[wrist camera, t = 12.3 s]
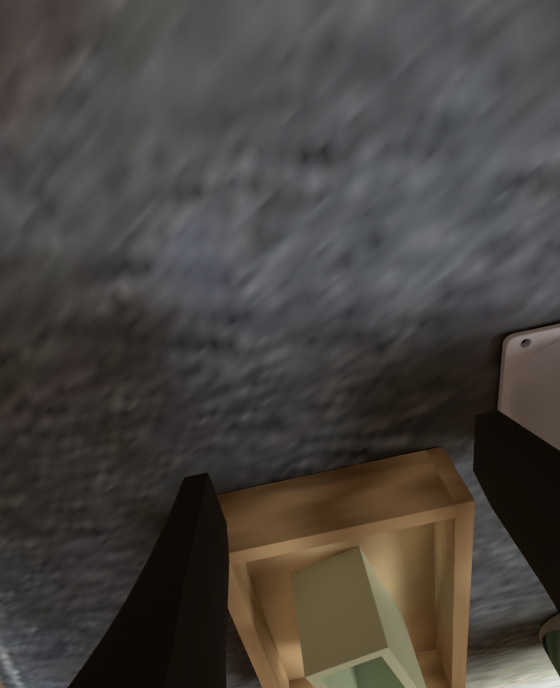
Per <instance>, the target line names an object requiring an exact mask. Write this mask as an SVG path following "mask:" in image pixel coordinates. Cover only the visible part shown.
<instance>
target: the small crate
mask: <svg viewBox="0 0 560 688" xmlns="http://www.w3.org/2000/svg"><path fill="white" fill-rule="evenodd" d="M291 579H292V586H293V593H294V601H295V608H296V615H297V623H298V630H299V638H300V645H301V652H302V660H303V667H304V675H305V678H306V679H307V680H308V681H309V682H310V683H311V684H312V685H313V686H314V687H315V688H426V685H425V682H424V679H423V676H422V673H421V670H420V667H419V664H418V661H417V658H416V655H415V652H414V649H413V646H412V643H411V640H410V637H409V634H408V631H407V628H406V625H405V622H404V619H403V616H402V613H401V611H400V610H399V608H398V607H397V605H396V603H395V602H394V600H393V599H392V597H391V596H390V594H389V592H388V591H387V589H386V588H385V586H384V585H383V583H382V581H381V580H380V578H379V577H378V575H377V573H376V572H375V570H374V569H373V567H372V566H371V564H370V562H369V561H368V559H367V558H366V556H365V555H364V553H363V551H362V550H361V548H360V547H359V546H358V547H356V548H353V549H351V550H348V551H345V552H343V553H340V554H338V555H335V556H333V557H330V558H328V559H325V560H323V561H320V562H317V563H315V564H312V565H310V566H307V567H305V568H302V569H300V570H297V571H295V572H292V573H291Z"/></svg>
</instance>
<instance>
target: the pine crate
mask: <svg viewBox="0 0 560 688" xmlns="http://www.w3.org/2000/svg"><path fill="white" fill-rule="evenodd" d="M217 498H218V501H219V503H220V506H221V509H222V511H223V514H224V517H225V519H226V522H227V533H228V547H229V588H228V610H229V612H230V614H231V617H232V619H233V621H234V624H235V626H236V628H237V630H238V633H239V635H240V637H241V640H242V642H243V644H244V647H245V649H246V651H247V653H248V656H249V658H250V660H251V663H252V665H253V667H254V669H255V672H256V674H257V676H258V679H259V681H260V683H261V686H262V688H315V687H314V686H313V685H312V684H311V683H310V682H309V681H308V680H307V679H306V678H305V675H304V667H303V660H302V652H301V645H300V638H299V630H298V623H297V615H296V608H295V601H294V593H293V586H292V579H291V573H292V572H295V571H297V570H300V569H302V568H305V567H307V566H310V565H312V564H315V563H317V562H320V561H323V560H325V559H328V558H330V557H333V556H335V555H338V554H340V553H343V552H345V551H348V550H351V549H353V548H356V547H358V546H359V547H360V548H361V550H362V551H363V553H364V555H365V556H366V558H367V559H368V561H369V562H370V564H371V566H372V567H373V569H374V570H375V572H376V573H377V575H378V577H379V578H380V580H381V581H382V583H383V585H384V586H385V588H386V589H387V591H388V592H389V594H390V596H391V597H392V599H393V600H394V602H395V603H396V605H397V607H398V608H399V610H400V611H401V613H402V616H403V619H404V622H405V625H406V628H407V631H408V634H409V637H410V640H411V643H412V646H413V649H414V652H415V655H416V658H417V661H418V664H419V667H420V670H421V673H422V676H423V679H424V682H425V685H426V688H465V681H466V662H467V643H468V624H469V605H470V586H471V567H472V548H473V529H474V510H475V500H474V498H473V497H472V495H471V493H470V491H469V490H468V488H467V486H466V485H465V483H464V481H463V480H462V478H461V476H460V475H459V473H458V471H457V470H456V468H455V466H454V465H453V463H452V461H451V459H450V458H449V456H448V454H447V453H446V451H445V449H444V448H443V446H442V447H438V448H433V449H428V450H424V451H419V452H414V453H410V454H405V455H400V456H396V457H391V458H386V459H382V460H377V461H372V462H368V463H363V464H358V465H354V466H349V467H344V468H340V469H335V470H330V471H326V472H321V473H316V474H311V475H307V476H302V477H297V478H293V479H288V480H283V481H279V482H274V483H269V484H265V485H260V486H255V487H251V488H246V489H241V490H237V491H232V492H227V493H223V494H218V495H217Z"/></svg>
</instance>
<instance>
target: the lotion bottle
mask: <svg viewBox="0 0 560 688" xmlns="http://www.w3.org/2000/svg"><path fill="white" fill-rule="evenodd" d="M539 638H540V641H541V643H542V645H543V647H544V649H545V651H546V653H547V655H548V657H549V658H550V660H551V662H552V664H553V666H554V667H555V669H556V671H557V673H558V675H559V676H560V614H557V615H556V616H554V617H552V618H551V619H549V620H548V621H547V622H546V623H545V624H544V625H543V626H542V627H541V629H540V631H539Z"/></svg>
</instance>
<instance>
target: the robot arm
mask: <svg viewBox="0 0 560 688" xmlns="http://www.w3.org/2000/svg"><path fill="white" fill-rule="evenodd" d="M525 339H526V341H525V342H524V343H522V344H521V342H522V341H523V340H525ZM473 471H474V473H475V475H476V477H477V479H478V481H479V483H480V485H481V487H482V490H483V491H484V493H485V495H486V497H487V499H488V501H489V503H490V505H491V507H492V508H493V510H494V511H495V513H496V515H497V516H498V518H499V519H500V521H501V522H502V524H503V525H504V527H505V528H506V530H507V532H508V533H509V535H510V536H511V538H512V539H513V541H514V542H515V544H516V545H517V547H518V548H519V550H520V551H521V553H522V554H523V556H524V557H525V559H526V560H527V562H528V563H529V565H530V566H531V568H532V569H533V571H534V572H535V574H536V576H537V577H538V579H539V580H540V582H541V583H542V585H543V586H544V588H545V590H546V591H547V593H548V595H549V596H550V598H551V599H552V601H553V603H554V605H555V606H556V608H557V610H558V612H559V614H560V324H556V325H551V326H546V327H542V328H537V329H532V330H528V331H523V332H518V333H514V334H511V335H509V336H507V337H506V338H505V340H504V341H503V346H502V358H501V371H500V384H499V397H498V410H497V411H493V412H488V413H483V414H479V415H476V419H475V440H474V461H473ZM228 588H229V547H228V533H227V522H226V519H225V517H224V514H223V511H222V509H221V506H220V503H219V501H218V498H217V495H216V493H215V490H214V487H213V485H212V482H211V479H210V477H209V474H208V472H207V473H203V474H198V475H193V476H189V477H185V478H184V480H183V481H182V484H181V486H180V489H179V491H178V494H177V496H176V499H175V501H174V504H173V506H172V509H171V511H170V513H169V516H168V518H167V520H166V522H165V525H164V527H163V529H162V531H161V533H160V535H159V538H158V540H157V542H156V544H155V546H154V548H153V550H152V552H151V554H150V556H149V558H148V560H147V562H146V564H145V566H144V568H143V570H142V572H141V573H140V575H139V577H138V579H137V581H136V583H135V585H134V587H133V589H132V590H131V592H130V594H129V596H128V597H127V599H126V601H125V602H124V604H123V606H122V608H121V609H120V611H119V613H118V614H117V616H116V617H115V619H114V621H113V622H112V624H111V625H110V627H109V629H108V630H107V632H106V633H105V635H104V636H103V638H102V639H101V641H100V642H99V644H98V645H97V647H96V648H95V650H94V651H93V653H92V654H91V656H90V657H89V659H88V660H87V661H86V663H85V664H84V666H83V667H82V669H81V670H80V671H79V673H78V674H77V676H76V677H75V678H74V680H73V681H72V682H71V684H70V685H69V686H68V688H226V636H227V612H228Z"/></svg>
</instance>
